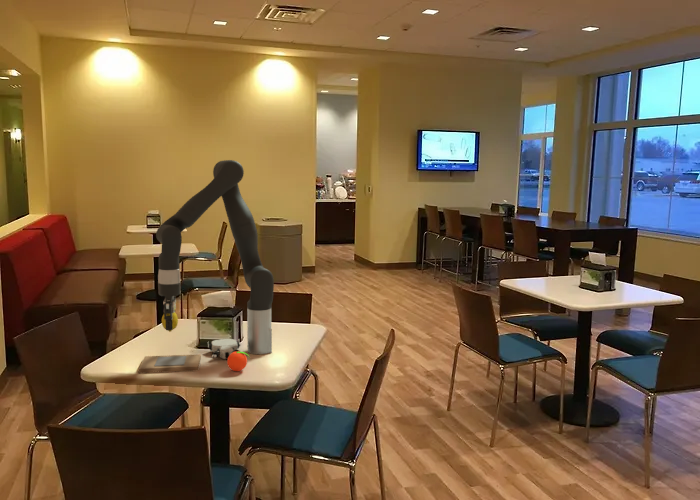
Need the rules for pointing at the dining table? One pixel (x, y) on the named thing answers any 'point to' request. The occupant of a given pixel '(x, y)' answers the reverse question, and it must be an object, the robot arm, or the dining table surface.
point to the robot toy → (223, 347)
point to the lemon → (174, 321)
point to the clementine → (237, 361)
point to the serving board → (170, 363)
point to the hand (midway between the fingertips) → (170, 327)
